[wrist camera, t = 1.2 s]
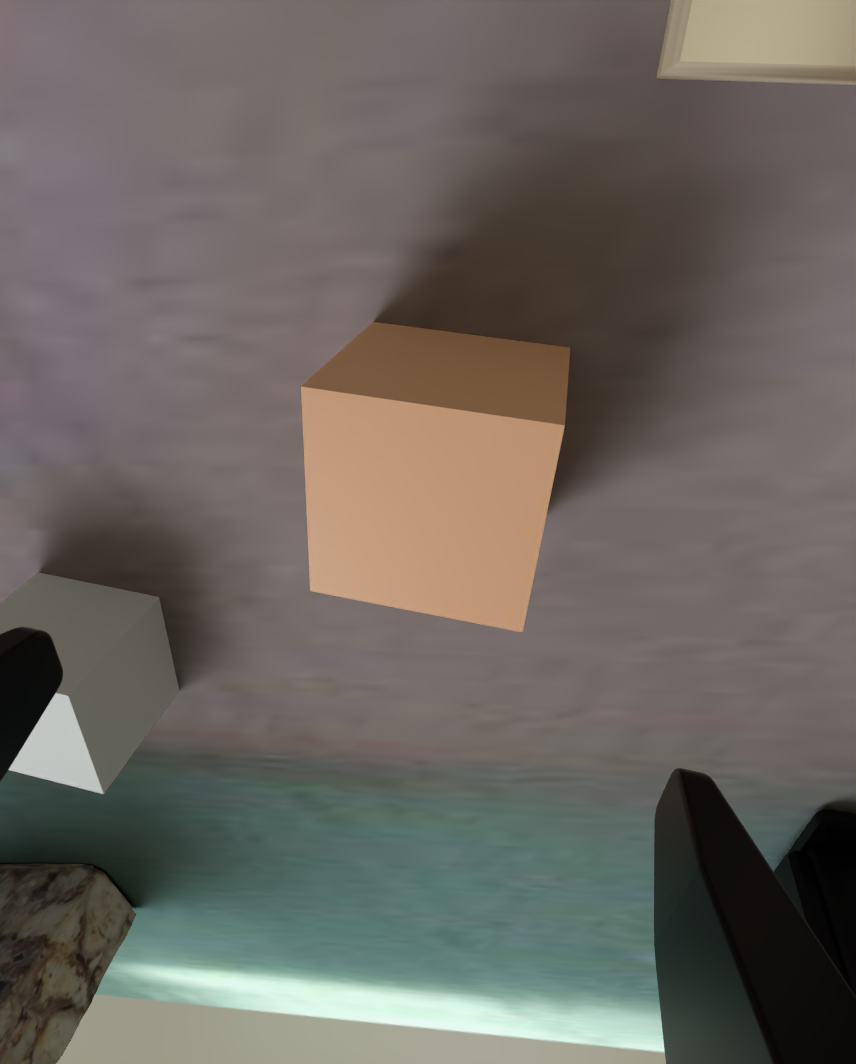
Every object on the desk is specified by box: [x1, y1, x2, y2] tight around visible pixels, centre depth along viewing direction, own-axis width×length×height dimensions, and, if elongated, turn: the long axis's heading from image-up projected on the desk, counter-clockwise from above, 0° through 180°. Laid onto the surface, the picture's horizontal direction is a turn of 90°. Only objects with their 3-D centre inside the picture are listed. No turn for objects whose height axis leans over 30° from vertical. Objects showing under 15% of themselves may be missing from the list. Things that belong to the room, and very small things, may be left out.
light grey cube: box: [0, 573, 179, 794], centre depth 23 cm, size 5×5×5 cm
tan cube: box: [301, 322, 570, 632], centre depth 15 cm, size 5×5×5 cm
